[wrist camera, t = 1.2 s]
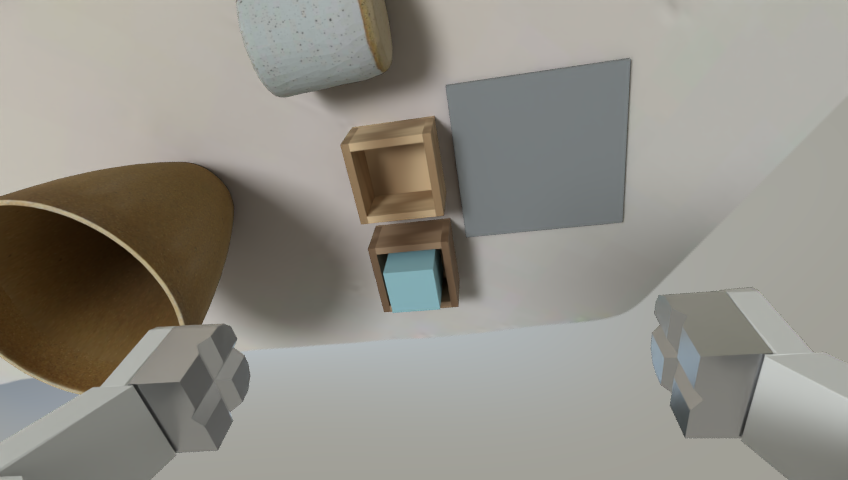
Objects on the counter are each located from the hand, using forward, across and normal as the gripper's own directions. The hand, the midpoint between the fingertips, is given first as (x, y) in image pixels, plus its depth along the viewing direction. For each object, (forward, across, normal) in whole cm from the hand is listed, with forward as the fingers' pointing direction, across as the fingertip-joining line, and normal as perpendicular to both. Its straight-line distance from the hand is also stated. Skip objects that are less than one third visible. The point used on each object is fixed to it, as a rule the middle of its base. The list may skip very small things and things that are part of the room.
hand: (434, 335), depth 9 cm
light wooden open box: (+30, +6, +7) cm, 31 cm away
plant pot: (+30, +24, +9) cm, 40 cm away
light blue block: (+30, +5, +16) cm, 34 cm away
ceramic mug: (+30, +9, -5) cm, 32 cm away
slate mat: (+30, -6, +8) cm, 31 cm away
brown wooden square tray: (+30, +5, +16) cm, 35 cm away
